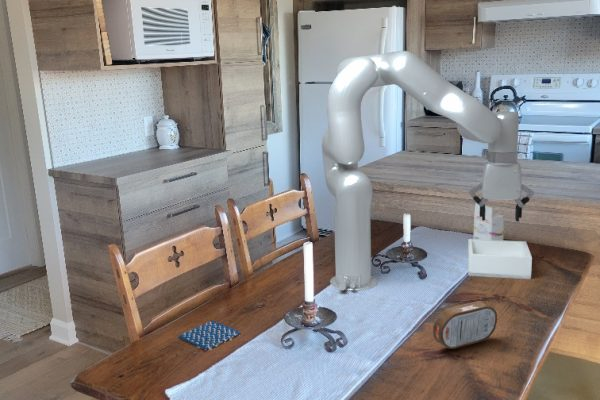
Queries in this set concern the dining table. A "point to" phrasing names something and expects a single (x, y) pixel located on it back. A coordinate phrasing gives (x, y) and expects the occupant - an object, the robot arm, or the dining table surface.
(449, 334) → the tin
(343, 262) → the robot arm
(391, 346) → the dining table surface
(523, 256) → the walled box
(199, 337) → the woven mat
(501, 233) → the ink cartridge box
